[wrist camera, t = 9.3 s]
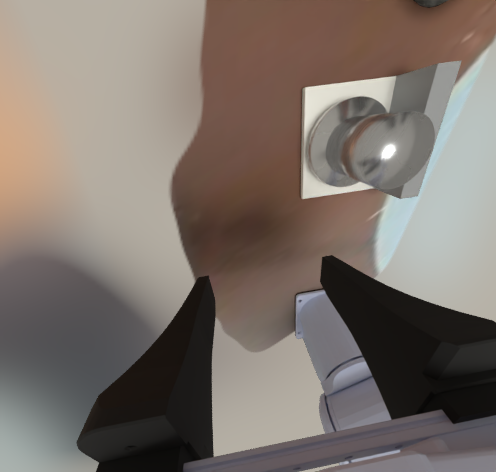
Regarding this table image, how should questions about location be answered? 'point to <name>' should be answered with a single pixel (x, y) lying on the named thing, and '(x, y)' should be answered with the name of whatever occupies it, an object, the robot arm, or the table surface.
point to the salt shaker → (430, 2)
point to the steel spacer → (381, 147)
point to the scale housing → (394, 100)
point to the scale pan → (326, 127)
